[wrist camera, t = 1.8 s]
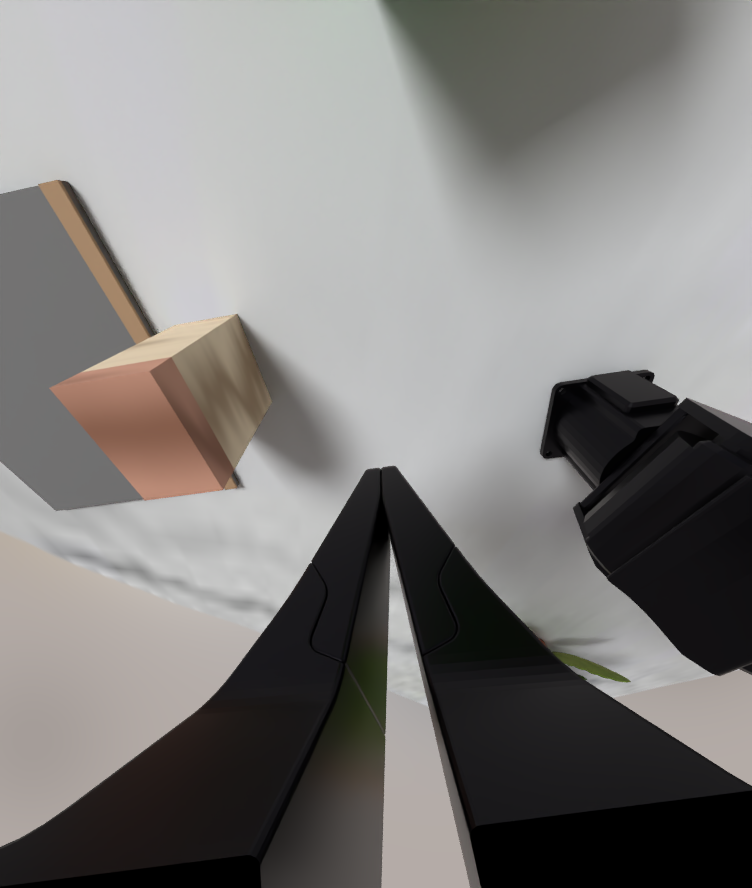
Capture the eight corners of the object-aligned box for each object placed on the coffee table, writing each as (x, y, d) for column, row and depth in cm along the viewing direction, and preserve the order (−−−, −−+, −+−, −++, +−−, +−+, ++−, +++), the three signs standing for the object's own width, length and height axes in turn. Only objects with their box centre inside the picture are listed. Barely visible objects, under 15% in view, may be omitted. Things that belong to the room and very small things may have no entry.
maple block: (272, 401, 22) (223, 489, 14) (219, 410, 22) (144, 500, 15) (237, 313, 18) (149, 371, 11) (174, 324, 19) (49, 388, 11)
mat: (239, 483, 26) (236, 488, 26) (59, 507, 27) (54, 512, 27) (67, 181, 15) (57, 179, 14) (-228, 247, 16) (-247, 248, 15)
